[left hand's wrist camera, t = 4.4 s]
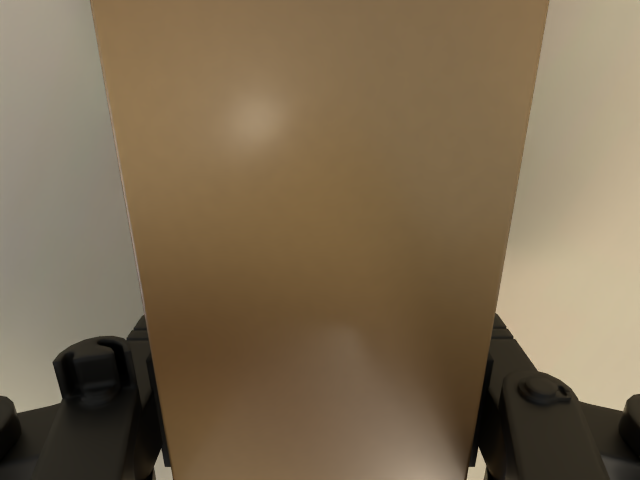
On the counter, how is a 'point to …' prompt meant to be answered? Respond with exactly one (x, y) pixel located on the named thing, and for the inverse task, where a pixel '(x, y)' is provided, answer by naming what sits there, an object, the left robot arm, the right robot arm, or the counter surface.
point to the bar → (319, 222)
